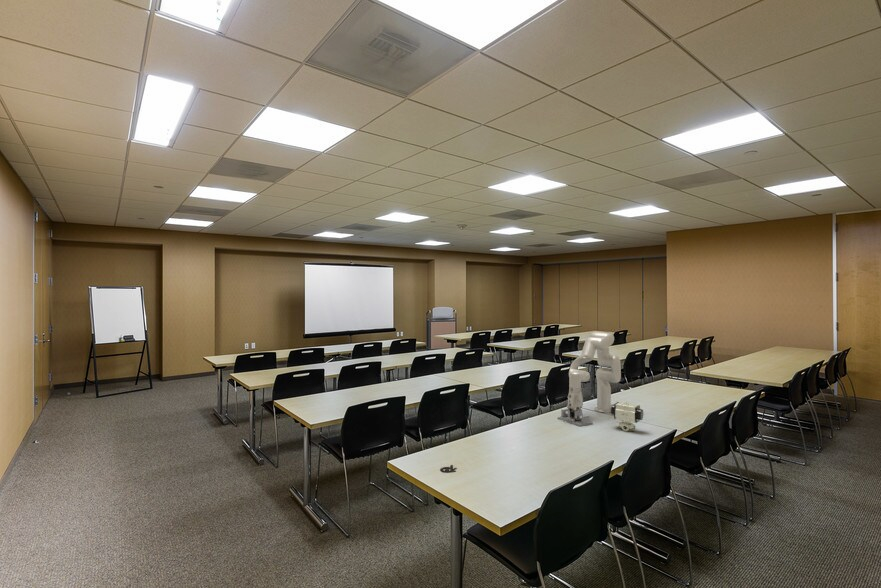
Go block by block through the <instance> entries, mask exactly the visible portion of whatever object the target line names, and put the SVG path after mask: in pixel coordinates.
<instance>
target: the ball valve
mask: <svg viewBox="0 0 881 588" xmlns="http://www.w3.org/2000/svg"><path fill="white" fill-rule="evenodd" d="M613 404H614V405H612V404H611V405H612V406H611V412H610V414H611V416H613V417H614V418H613V419H614V420H620V421H619V422H618V428H619V429H621V430H622V431H624V432H628V431H630V432H632V431H635V430H636V424H637V423H639V422H640V421H642V420H643V419H644V409H642V408H641V406H640V404H639V405H638V404H633V403H629V402H628V401H625V402H619V401H616V402H615V403H613ZM634 423H635V424H634Z"/></svg>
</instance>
